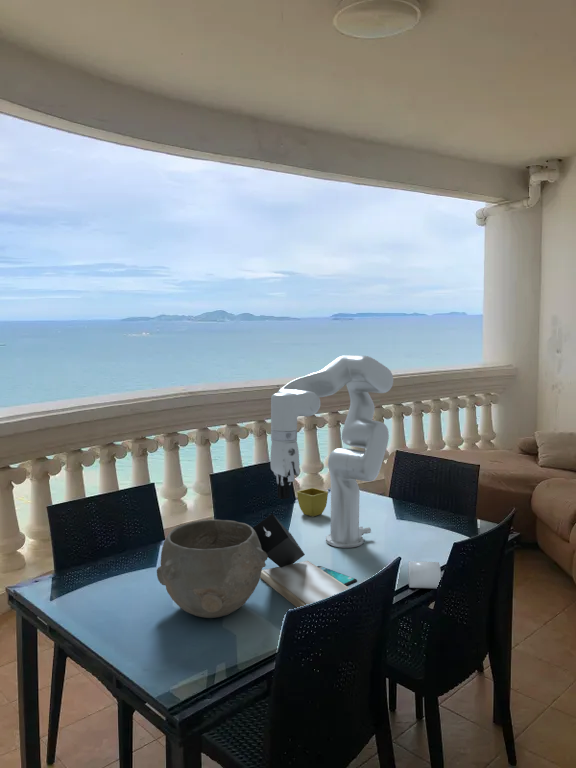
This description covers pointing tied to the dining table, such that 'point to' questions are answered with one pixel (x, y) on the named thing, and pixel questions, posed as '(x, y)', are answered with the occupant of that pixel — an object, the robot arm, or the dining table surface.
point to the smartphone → (339, 576)
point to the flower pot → (312, 501)
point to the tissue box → (277, 542)
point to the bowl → (211, 566)
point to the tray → (302, 583)
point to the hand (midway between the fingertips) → (283, 497)
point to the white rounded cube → (424, 574)
